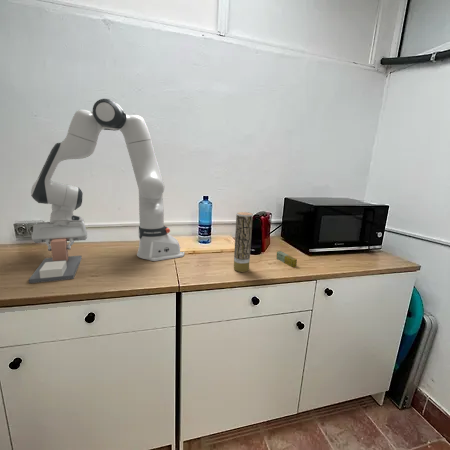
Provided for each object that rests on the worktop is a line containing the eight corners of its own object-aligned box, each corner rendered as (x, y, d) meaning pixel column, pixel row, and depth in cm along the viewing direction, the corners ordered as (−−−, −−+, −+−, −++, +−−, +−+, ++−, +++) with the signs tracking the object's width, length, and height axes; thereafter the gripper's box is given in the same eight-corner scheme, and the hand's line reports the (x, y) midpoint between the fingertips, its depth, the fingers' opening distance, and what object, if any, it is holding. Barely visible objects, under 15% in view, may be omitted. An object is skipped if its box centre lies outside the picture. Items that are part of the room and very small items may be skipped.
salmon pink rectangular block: (68, 258, 115) (66, 238, 113) (66, 261, 111) (64, 241, 109) (55, 259, 113) (52, 239, 111) (52, 262, 109) (50, 242, 107)
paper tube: (248, 273, 112) (252, 215, 106) (232, 271, 113) (235, 214, 108) (249, 267, 119) (253, 212, 113) (234, 265, 120) (237, 211, 114)
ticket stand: (81, 258, 120) (80, 248, 119) (73, 278, 100) (72, 267, 99) (45, 261, 115) (44, 251, 114) (29, 283, 95) (27, 271, 94)
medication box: (276, 259, 131) (276, 251, 130) (280, 258, 133) (280, 250, 132) (292, 268, 121) (292, 259, 120) (296, 267, 122) (297, 258, 121)
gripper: (31, 218, 111) (27, 248, 104) (86, 217, 118) (85, 244, 111) (36, 226, 116) (32, 255, 109) (88, 224, 123) (87, 251, 117)
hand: (59, 249), depth 110 cm, fingers closed on salmon pink rectangular block, 5 cm apart
